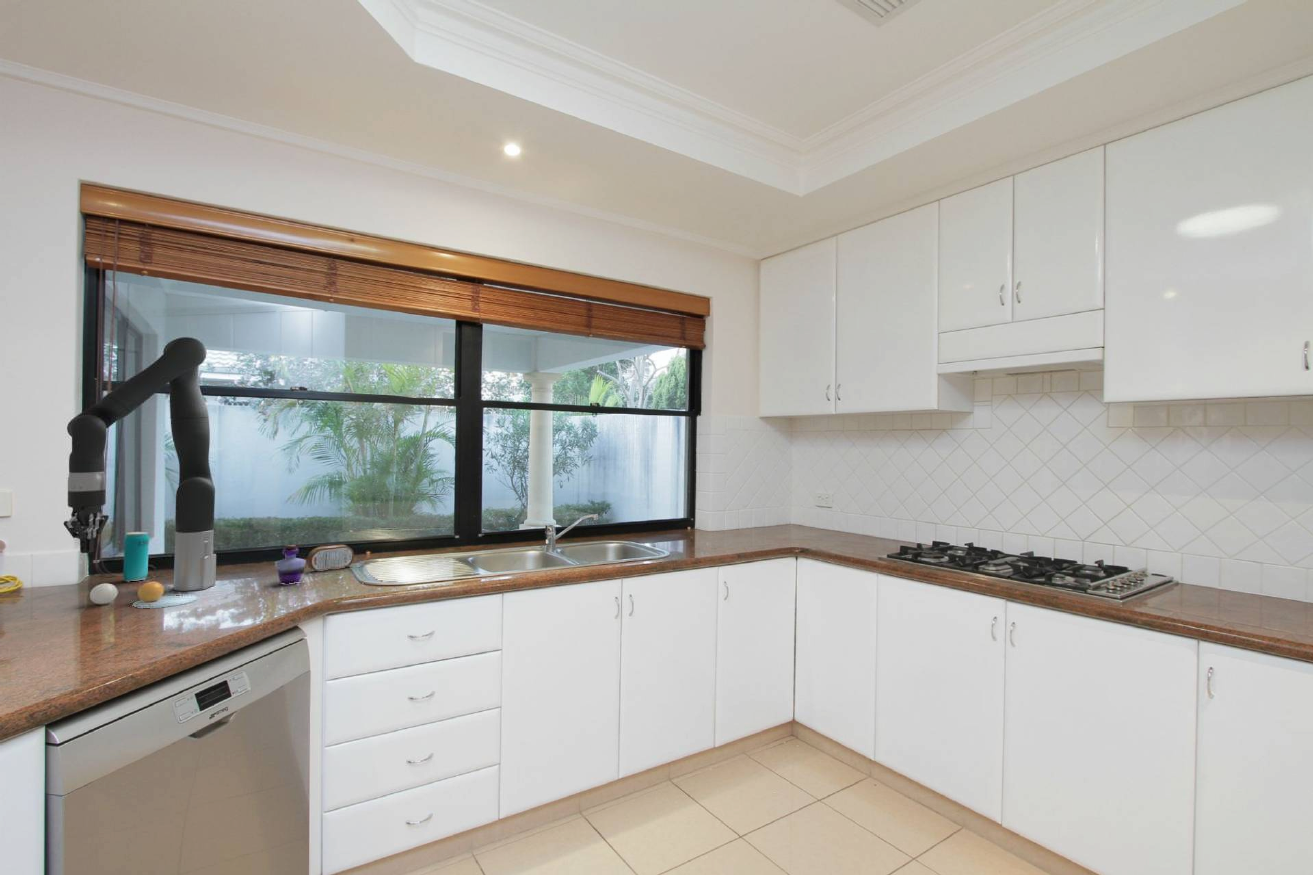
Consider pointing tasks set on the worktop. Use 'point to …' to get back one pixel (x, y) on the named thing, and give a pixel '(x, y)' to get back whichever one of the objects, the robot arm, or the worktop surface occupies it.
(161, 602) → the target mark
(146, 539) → the beverage can
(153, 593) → the orange ball
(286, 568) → the potion bottle
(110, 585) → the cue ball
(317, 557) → the tin
